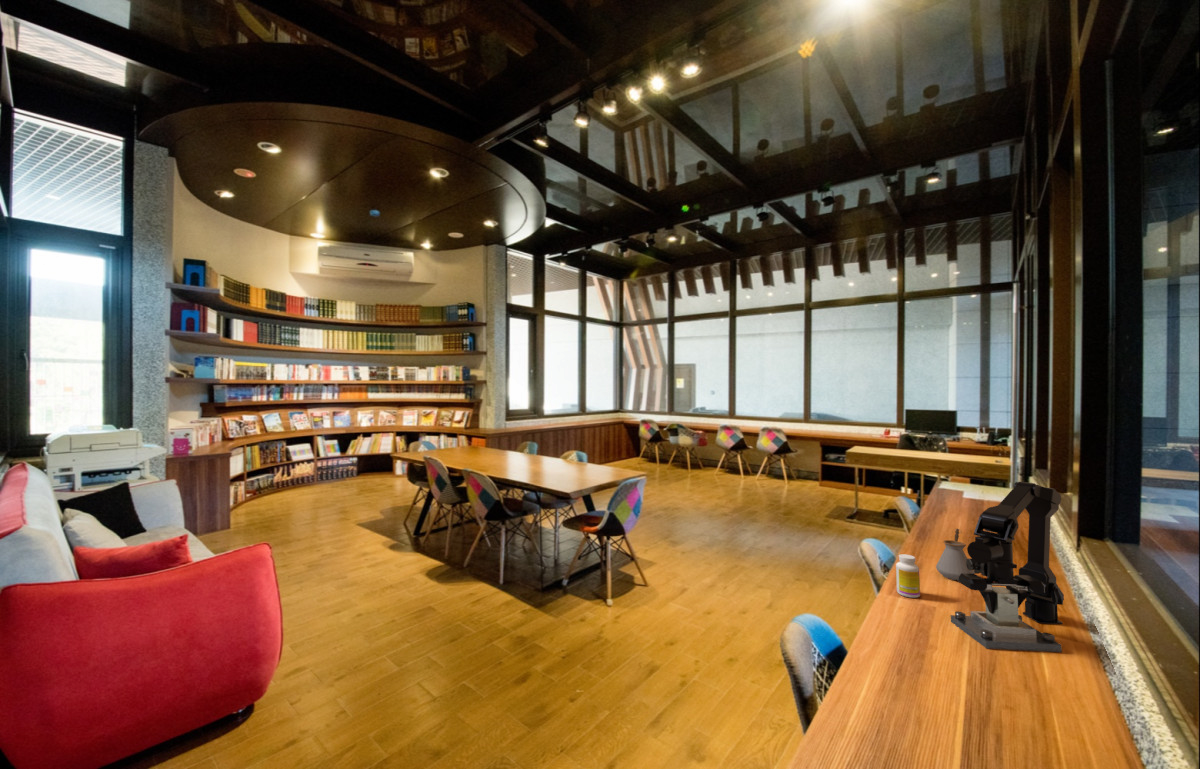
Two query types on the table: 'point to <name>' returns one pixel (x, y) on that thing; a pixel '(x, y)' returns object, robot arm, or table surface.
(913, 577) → the supplement bottle
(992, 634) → the square hole base plate
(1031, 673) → the table surface
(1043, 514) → the robot arm
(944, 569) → the coffee pot
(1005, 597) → the brushed metal square peg
